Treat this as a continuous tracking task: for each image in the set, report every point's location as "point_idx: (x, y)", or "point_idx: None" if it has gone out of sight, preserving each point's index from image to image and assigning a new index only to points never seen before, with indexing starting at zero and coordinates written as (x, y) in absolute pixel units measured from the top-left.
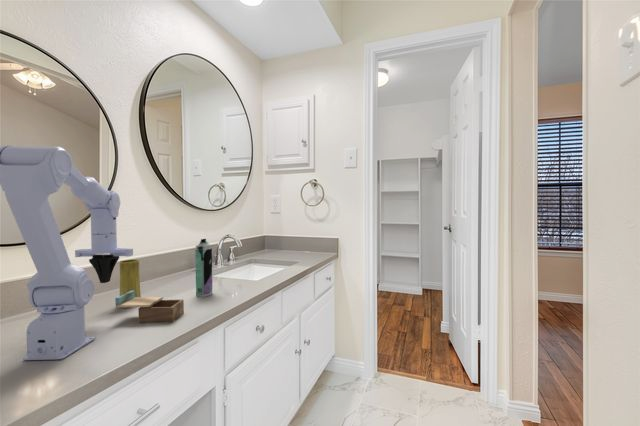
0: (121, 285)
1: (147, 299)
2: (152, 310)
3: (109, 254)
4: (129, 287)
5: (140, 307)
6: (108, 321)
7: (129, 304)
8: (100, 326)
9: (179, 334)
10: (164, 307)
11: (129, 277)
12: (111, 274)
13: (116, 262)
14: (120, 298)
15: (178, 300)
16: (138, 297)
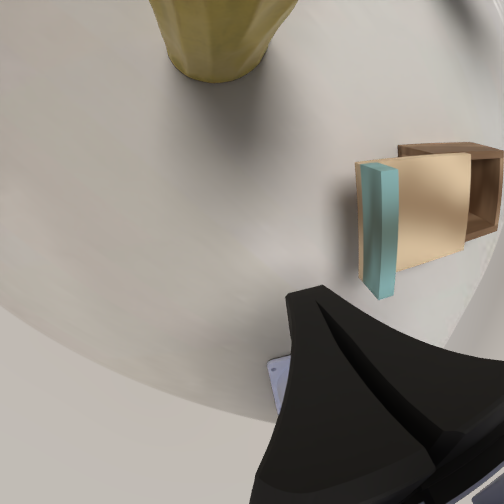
0: (203, 47)
1: (440, 191)
2: None
3: (463, 497)
4: (262, 41)
5: None
6: (289, 235)
7: (407, 261)
8: (297, 276)
9: (484, 271)
10: (484, 232)
11: (280, 14)
12: (355, 307)
13: (461, 356)
14: (391, 285)
15: (495, 157)
16: (394, 163)
